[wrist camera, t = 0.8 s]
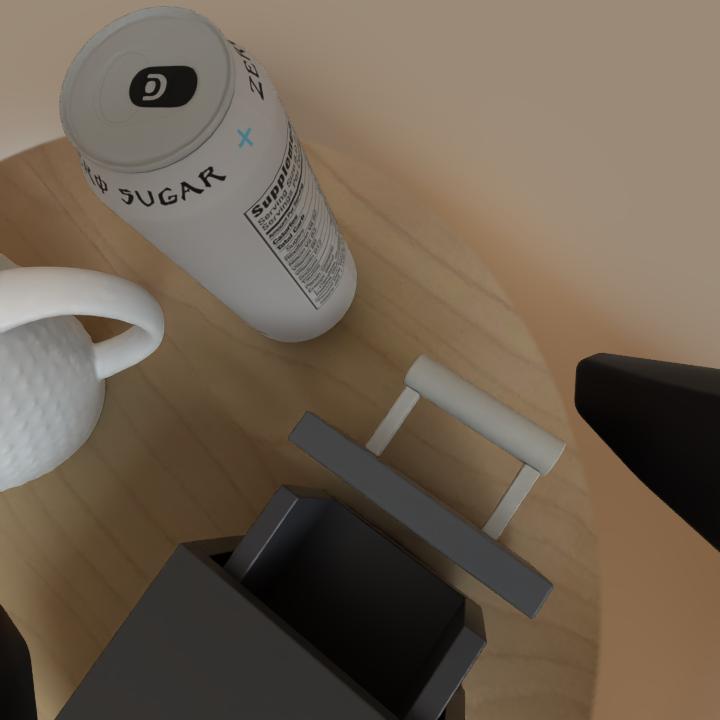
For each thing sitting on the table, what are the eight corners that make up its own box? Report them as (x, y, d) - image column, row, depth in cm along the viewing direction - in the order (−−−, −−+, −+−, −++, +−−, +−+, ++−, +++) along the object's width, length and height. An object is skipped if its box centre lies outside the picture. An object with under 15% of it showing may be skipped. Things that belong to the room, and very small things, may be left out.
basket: (399, 356, 27) (377, 308, 20) (586, 477, 24) (630, 466, 18) (191, 655, 25) (96, 705, 19) (368, 818, 23) (329, 942, 16)
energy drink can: (253, 231, 31) (67, -9, 16) (367, 236, 30) (273, -19, 15) (234, 343, 29) (13, 188, 15) (352, 352, 28) (234, 193, 14)
